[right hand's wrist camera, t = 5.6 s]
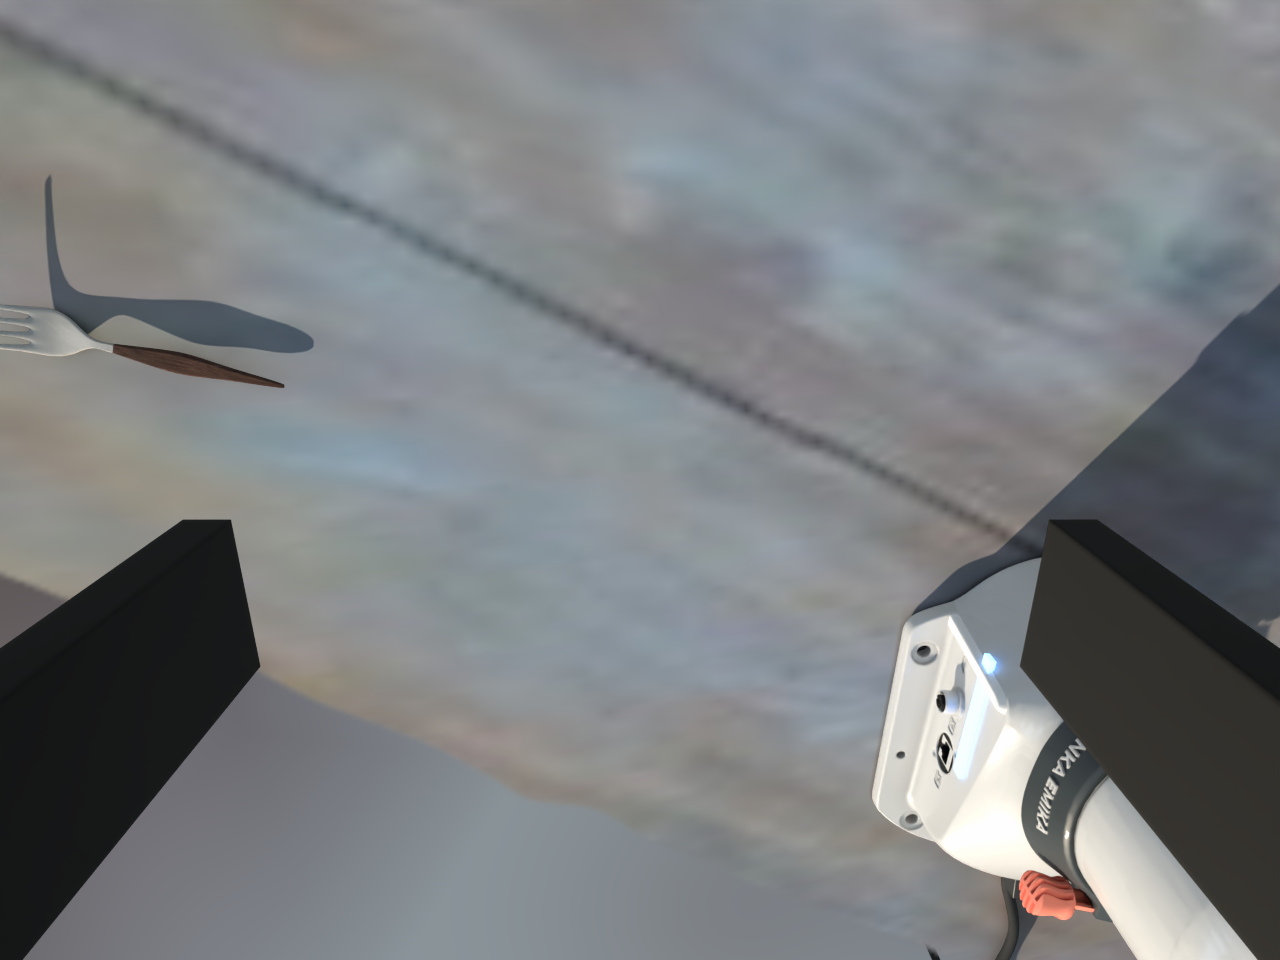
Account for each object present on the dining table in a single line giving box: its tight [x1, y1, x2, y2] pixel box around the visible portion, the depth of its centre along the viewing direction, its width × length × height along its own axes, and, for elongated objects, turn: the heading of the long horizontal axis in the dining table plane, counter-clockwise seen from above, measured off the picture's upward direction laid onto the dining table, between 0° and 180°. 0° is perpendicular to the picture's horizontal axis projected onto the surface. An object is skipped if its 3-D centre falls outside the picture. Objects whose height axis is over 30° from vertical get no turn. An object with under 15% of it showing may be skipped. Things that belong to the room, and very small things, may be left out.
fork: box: [0, 304, 284, 388], centre depth 41 cm, size 3×16×2 cm, turn 77°
